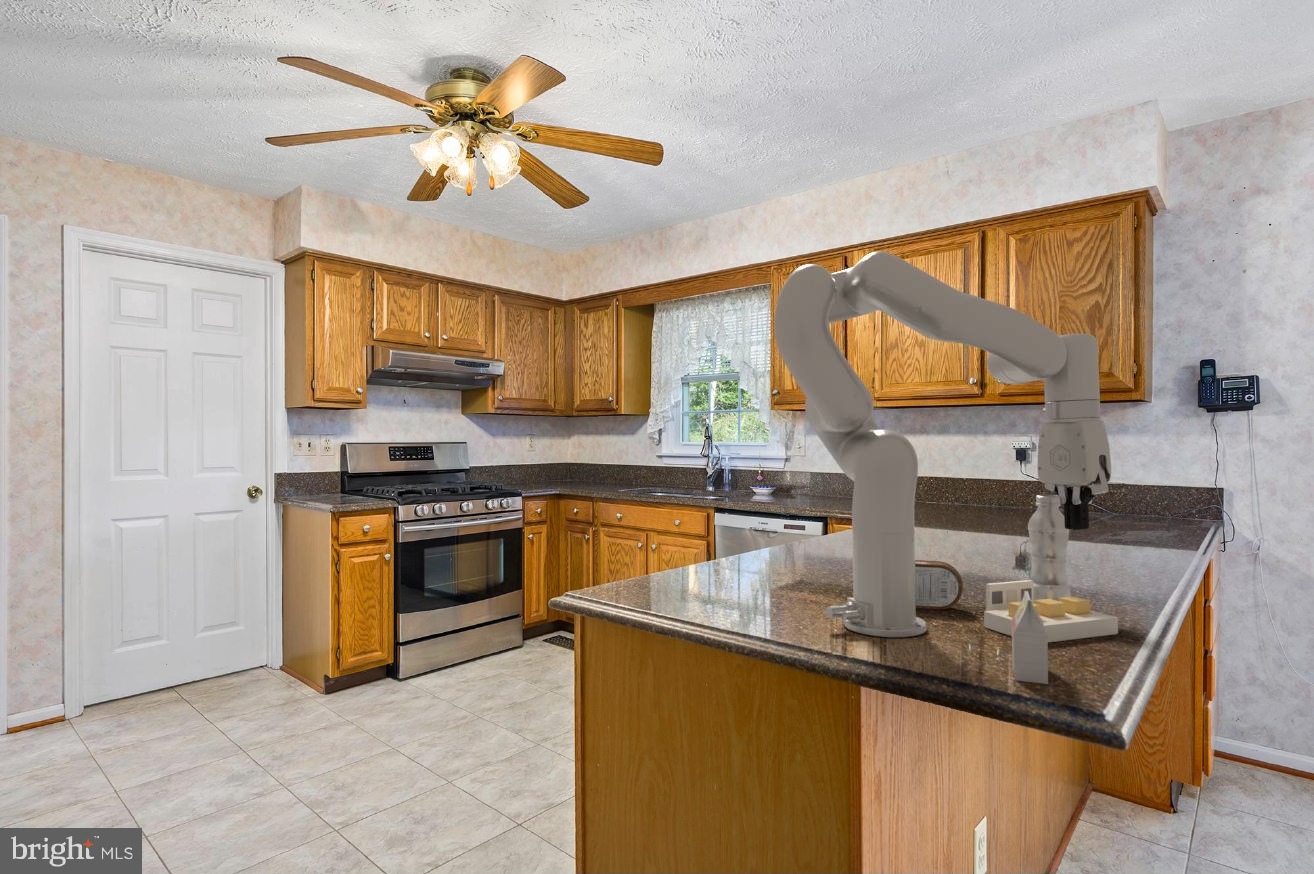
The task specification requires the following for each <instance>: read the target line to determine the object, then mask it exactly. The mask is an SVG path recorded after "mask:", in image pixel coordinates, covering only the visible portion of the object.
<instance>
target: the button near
mask: <svg viewBox="0 0 1314 874" xmlns="http://www.w3.org/2000/svg"><path fill="white" fill-rule="evenodd" d="M1020 603H1021V602H1011V603H1008V613H1009V617H1013V616H1014V615H1015V613H1016V611H1017V609H1018V607H1019V605H1020ZM1033 605H1034V607H1035V609H1036V611H1037V613H1038V615H1039V605H1036V604H1033ZM1039 616H1040V615H1039Z"/></svg>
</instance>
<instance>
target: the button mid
mask: <svg viewBox="0 0 1314 874" xmlns="http://www.w3.org/2000/svg"><path fill="white" fill-rule="evenodd" d="M1034 604H1036V605H1039V615H1041V616H1045V617H1048V618H1055V617H1064V616H1065V603H1064V602H1060V601H1056V600H1052V599H1042V600H1034Z"/></svg>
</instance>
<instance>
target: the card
mask: <svg viewBox="0 0 1314 874" xmlns="http://www.w3.org/2000/svg"><path fill="white" fill-rule="evenodd" d="M1024 591H1026V592H1027V591H1028V593H1029V596H1030V599H1031V601H1032V604H1033V581H1031V579H1026V580H1025V579H1024V580H1015V581H1004V582H1003V581H1002V582H1001V581H1000V582H989V583H985V611H993V610H1002V609H1008V603H1011V602H1021V601H1022V598H1023V596H1024Z"/></svg>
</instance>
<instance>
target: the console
mask: <svg viewBox="0 0 1314 874" xmlns="http://www.w3.org/2000/svg"><path fill="white" fill-rule="evenodd" d="M1012 618H1013V617H1009V613H1008V609H1002V610H993V611H986V610H984V611H983V621H984V622H983V627H984V628H985V629H989V630H992V631H995V632H996V633H997V632H998V633H1001V634H1004V635H1007V636H1010V637H1012ZM1040 618H1041V620H1042V622H1043V624H1044V627H1045V630H1046V633H1047V640H1048V643H1053V642H1062V641H1070V640H1079V639H1087V638H1094V637H1095V638H1096V637H1102V636H1110V635H1118V634H1119V617H1118V616H1115V615H1114V616H1113V615H1109V614H1106V613H1101V612H1098V611H1094V610H1091V609H1090V614H1082V615H1073V614H1069V613H1065V616H1064V617H1055V618H1048V617H1045V616H1041V615H1040ZM1117 633H1118V634H1117Z"/></svg>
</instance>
